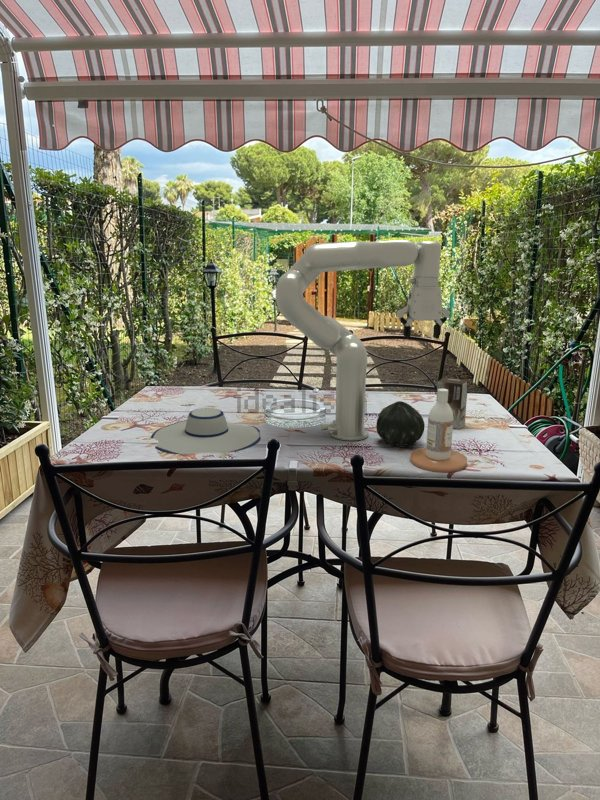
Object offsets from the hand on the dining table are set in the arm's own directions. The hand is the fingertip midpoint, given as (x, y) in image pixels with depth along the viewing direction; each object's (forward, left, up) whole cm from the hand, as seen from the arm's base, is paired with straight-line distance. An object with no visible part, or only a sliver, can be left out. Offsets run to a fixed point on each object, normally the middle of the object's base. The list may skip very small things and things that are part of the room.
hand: (421, 338), depth 174 cm
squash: (-8, -5, -33) cm, 34 cm away
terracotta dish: (-4, -23, -33) cm, 40 cm away
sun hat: (-67, +16, -33) cm, 76 cm away
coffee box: (+17, +8, -33) cm, 38 cm away
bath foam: (-4, -23, -31) cm, 39 cm away
